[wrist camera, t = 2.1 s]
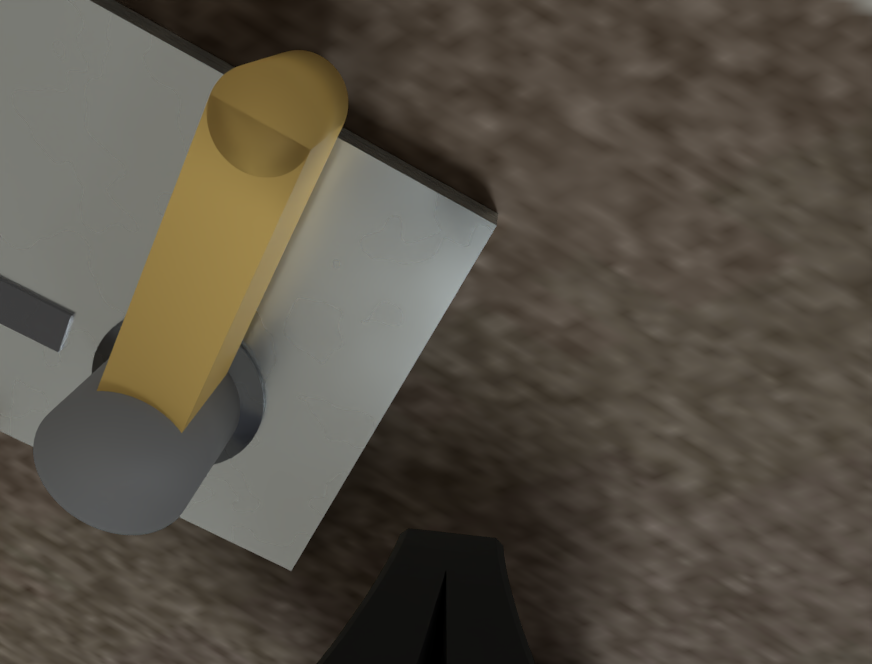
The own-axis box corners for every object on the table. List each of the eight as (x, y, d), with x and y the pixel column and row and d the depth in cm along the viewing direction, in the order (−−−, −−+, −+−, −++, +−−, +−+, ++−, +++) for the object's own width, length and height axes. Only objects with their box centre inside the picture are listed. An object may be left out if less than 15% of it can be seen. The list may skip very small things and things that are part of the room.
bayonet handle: (211, 478, 21) (160, 559, 18) (87, 418, 21) (16, 490, 18) (398, 99, 16) (371, 125, 13) (243, 11, 16) (180, 18, 13)
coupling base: (300, 548, 24) (289, 575, 22) (-212, 299, 22) (-250, 316, 21) (514, 184, 18) (514, 197, 17) (-137, -181, 17) (-183, -193, 15)
